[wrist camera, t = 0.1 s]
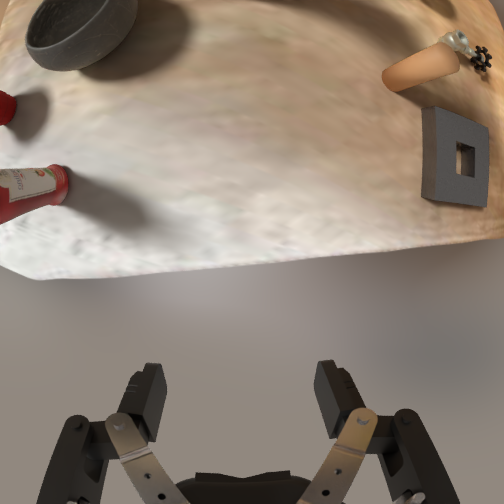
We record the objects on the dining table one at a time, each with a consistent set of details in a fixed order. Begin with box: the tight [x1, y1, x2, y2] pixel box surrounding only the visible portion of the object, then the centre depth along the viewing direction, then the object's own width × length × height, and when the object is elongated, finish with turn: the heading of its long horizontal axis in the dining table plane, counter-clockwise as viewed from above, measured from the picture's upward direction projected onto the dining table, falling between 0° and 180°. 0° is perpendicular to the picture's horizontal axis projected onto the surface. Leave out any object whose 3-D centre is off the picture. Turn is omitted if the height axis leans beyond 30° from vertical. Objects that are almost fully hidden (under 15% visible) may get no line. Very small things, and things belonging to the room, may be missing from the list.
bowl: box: [25, 0, 138, 71], centre depth 23 cm, size 18×18×13 cm
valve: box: [437, 29, 492, 72], centre depth 28 cm, size 7×7×12 cm
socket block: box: [421, 106, 489, 207], centre depth 36 cm, size 16×16×4 cm
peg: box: [382, 42, 460, 92], centre depth 27 cm, size 4×4×15 cm
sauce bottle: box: [0, 164, 68, 225], centre depth 23 cm, size 7×7×28 cm
